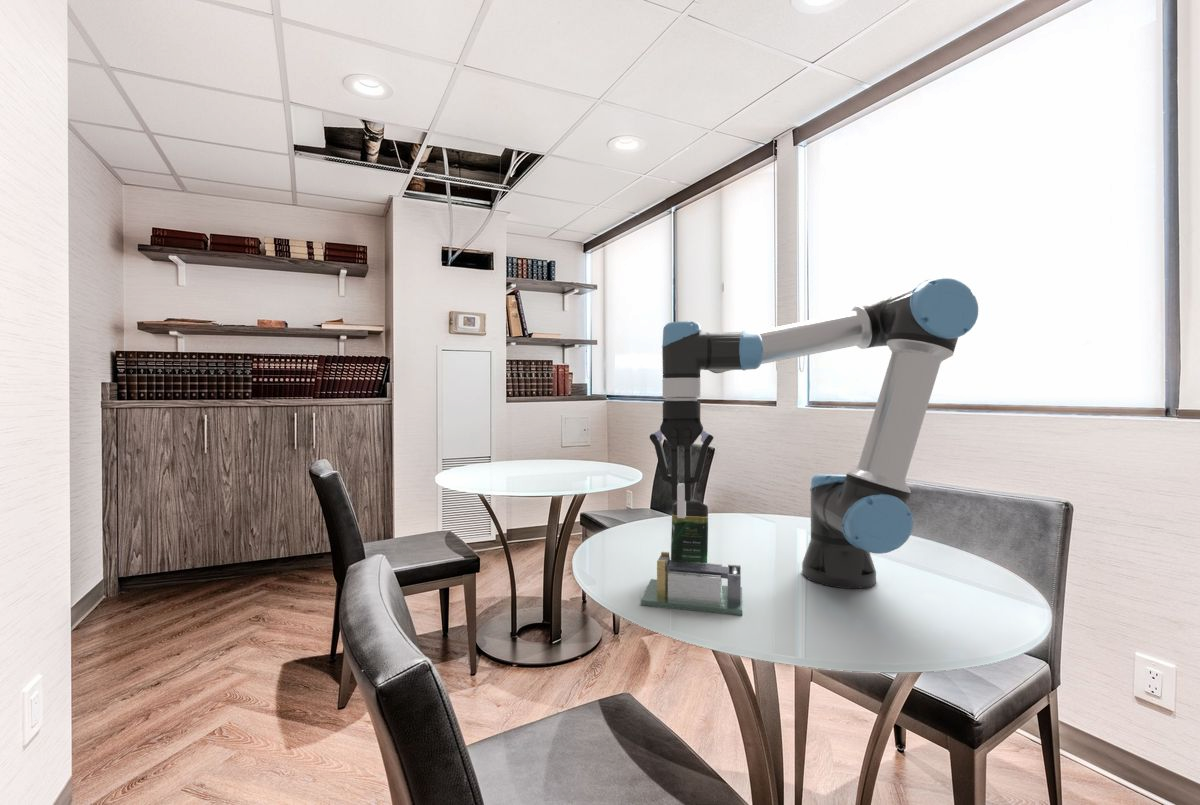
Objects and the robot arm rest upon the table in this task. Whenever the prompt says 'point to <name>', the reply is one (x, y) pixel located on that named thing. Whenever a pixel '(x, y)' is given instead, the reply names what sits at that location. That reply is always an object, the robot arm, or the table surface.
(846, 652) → the table surface
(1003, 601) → the table surface
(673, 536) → the coffee jar
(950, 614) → the table surface
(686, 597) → the heatsink base
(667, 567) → the grey rectangular bar
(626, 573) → the table surface
